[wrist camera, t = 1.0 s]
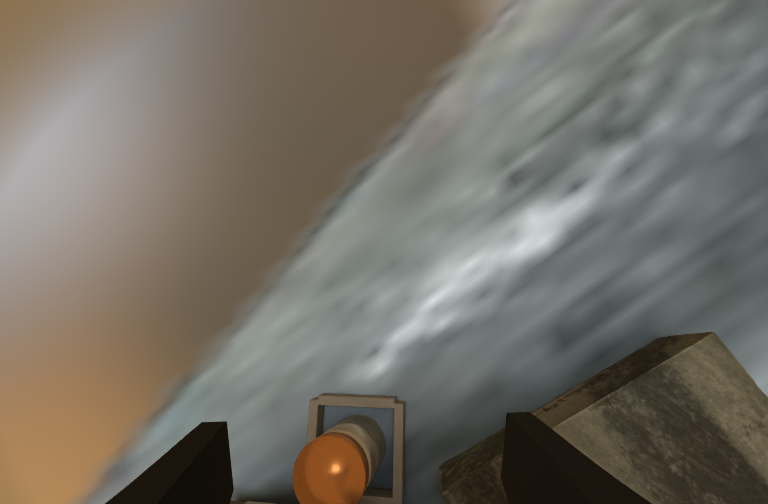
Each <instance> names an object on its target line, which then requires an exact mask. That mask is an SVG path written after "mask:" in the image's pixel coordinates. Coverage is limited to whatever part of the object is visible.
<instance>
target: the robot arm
mask: <svg viewBox="0 0 768 504" xmlns="http://www.w3.org/2000/svg"><path fill="white" fill-rule="evenodd" d="M501 481H502V484H503V487H504V490H505V494H506V497H507V500H508V503H509V504H652V503H651V502H649V501H648V500H646V499H645V498H643V497H642V496H641V495H639V494H638V493H636V492H635V491H633V490H632V489H630V488H629V487H628V486H626V485H625V484H623V483H622V482H621V481H619V480H618V479H616V478H615V477H614V476H612V475H611V474H610V473H608V472H607V471H606V470H604V469H603V468H602V467H600V466H599V465H598V464H596V463H595V462H594V461H592V460H591V459H590V458H588V457H587V456H586V455H584V454H583V453H582V452H581V451H579V450H578V449H577V448H575V447H574V446H573V445H572V444H570V443H569V442H568V441H567V440H565V439H564V438H563V437H561V436H560V435H559V434H558V433H556V432H555V431H554V430H553V429H551V428H550V427H549V426H547V425H546V424H545V423H544V422H542V421H541V420H540V419H538V418H537V417H536V416H534V415H533V414H531V413H530V412H518V413H507V417H506V427H505V438H504V448H503V459H502V470H501ZM232 493H233V479H232V469H231V459H230V449H229V439H228V429H227V422H202V423H201V424H199V425H198V426H197V427H196V428H194V429H193V430H192V431H191V432H190V433H189V434H187V435H186V436H185V437H184V438H183V439H182V440H180V441H179V442H178V443H177V444H176V445H175V446H174V447H172V448H171V449H170V450H169V451H168V452H167V453H165V454H164V455H163V456H162V457H161V458H160V459H159V460H157V461H156V462H155V463H154V464H153V465H151V466H150V467H149V468H148V469H147V470H146V471H144V472H143V473H142V474H141V475H140V476H139V477H137V478H136V479H135V480H134V481H133V482H131V483H130V484H129V485H128V486H127V487H125V488H124V489H123V490H122V491H120V492H119V493H118V494H117V495H115V496H114V497H113V498H112V499H110V500H109V501H108V502H107V503H105V504H230V500H231V497H232Z"/></svg>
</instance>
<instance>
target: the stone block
mask: <svg viewBox="0 0 768 504" xmlns="http://www.w3.org/2000/svg"><path fill="white" fill-rule="evenodd" d="M531 414H533V415H534V416H536V417H537V418H538V419H540V420H541V421H542V422H544V423H545V424H546V425H547V426H549V427H550V428H551V429H553V430H554V431H555V432H556V433H558V434H559V435H560V436H561V437H563V438H564V439H565V440H567V441H568V442H569V443H570V444H572V445H573V446H574V447H575V448H577V449H578V450H579V451H581V452H582V453H583V454H584V455H586V456H587V457H588V458H590V459H591V460H592V461H594V462H595V463H596V464H598V465H599V466H600V467H602V468H603V469H604V470H606V471H607V472H608V473H610V474H611V475H612V476H614V477H615V478H616V479H618V480H619V481H621V482H622V483H623V484H625V485H626V486H628V487H629V488H630V489H632V490H633V491H635V492H636V493H638V494H639V495H641V496H642V497H643V498H645V499H646V500H648V501H649V502H651V503H652V504H768V397H767V396H766V395H765V394H764V393H763V392H762V391H761V390H760V388H759V387H758V386H757V385H756V383H755V382H754V380H753V379H752V378H751V377H750V375H749V374H748V373H747V372H746V370H745V369H744V368H743V367H742V365H741V364H740V363H739V362H738V360H737V359H736V358H735V357H734V355H733V354H732V353H731V352H730V351H729V349H728V348H727V347H726V346H725V345H724V343H723V342H722V341H721V340H720V339H719V337H718V336H717V335H716V334H715V333H713V332H706V333H695V334H683V335H674V336H668V337H663V338H659V339H656V340H655V341H653V342H652V343H650V344H648V345H647V346H645V347H643V348H641V349H639V350H638V351H636V352H634V353H632V354H631V355H629V356H627V357H626V358H624V359H622V360H620V361H619V362H617V363H615V364H614V365H612V366H610V367H608V368H607V369H605V370H603V371H601V372H600V373H598V374H596V375H595V376H593V377H591V378H589V379H588V380H586V381H584V382H583V383H581V384H579V385H578V386H576V387H575V388H573V389H571V390H570V391H568V392H566V393H565V394H563V395H561V396H560V397H558V398H556V399H555V400H553V401H552V402H550V403H548V404H547V405H545V406H543V407H542V408H540V409H538V410H536V411H534V412H532V413H531ZM504 438H505V428H504V429H502V430H500V431H499V432H497V433H495V434H493V435H492V436H490V437H488V438H487V439H485V440H484V441H483V442H481V443H479V444H478V445H476V446H474V447H472V448H471V449H469V450H467V451H465V452H464V453H462V454H460V455H458V456H456V457H454V458H452V459H450V460H448V461H446V462H445V463H443V464H442V465H441V466H440V468H439V474H440V476H439V478H440V490H441V495H442V497H443V499H444V501H445V503H446V504H509V503H508V500H507V497H506V494H505V490H504V487H503V484H502V481H501V470H502V459H503V448H504Z"/></svg>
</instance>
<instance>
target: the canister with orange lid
mask: <svg viewBox="0 0 768 504" xmlns="http://www.w3.org/2000/svg"><path fill="white" fill-rule="evenodd" d="M385 449H386V441H385V436H384V433H383V431H382V429H381V427H380V426H379V424H378V423H377V422H376V421H374V420H373V419H372V418H370V417H368V416H365V415H352V416H349V417H347V418H345V419H344V420H342V421H341V422H339V423H338V424H336V425H335V426H333V427H332V428H331V429H329V430H328V431H326V432H325V433H323V434H322V435H320V436H319V437H317V438H316V439H315V440H313V441H312V442H310V443H309V444H308V445H306V446H305V447H304V448H303V450H302V451H301V452H300V454H299V456H298V458H297V460H296V462H295V465H294V470H293V486H294V491H295V494H296V497H297V499H298V501H299V502H300V504H358V502H359V501H360V499H361V497H362V495H363V494H364V492H365V490H366V488H367V486H368V485H369V483H370V481H371V479H372V478H373V476H374V474H375V472H376V470H377V469H378V467H379V465H380V463H381V461H382V459H383V457H384V454H385Z"/></svg>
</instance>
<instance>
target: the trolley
mask: <svg viewBox="0 0 768 504" xmlns="http://www.w3.org/2000/svg"><path fill="white" fill-rule="evenodd" d="M324 405H333V406H353V407H373V408H394V445H393V490H388V489H376V488H366V490H365V492H364V494H363V495H362V497H361V499H360V501H359V502H358V504H402V503H403V499H404V477H405V401H397V396H375V395H352V394H330V393H324V394H321V395H319V396H318V397H316V398H313V399H311V400H310V405H309V420H308V434H307V445H308V444H309V443H310V442H312V441H313V440H315V439H316V438H317V437H319V436H320V435H322V432H323V415H324ZM230 504H275V503H264V502H253V501H247V502H240V501H230Z"/></svg>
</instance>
